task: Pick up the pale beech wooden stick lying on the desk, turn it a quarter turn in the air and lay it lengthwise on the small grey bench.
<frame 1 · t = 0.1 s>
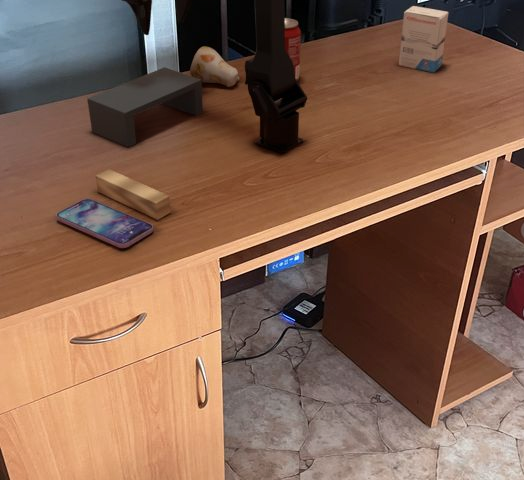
hand: (163, 28, 149), 15 cm above the table, tool pointing down, fingers open, 9 cm apart
soda can: (283, 81, 168), on the table
smartphone: (104, 226, 122), on the table
stick: (133, 202, 128), on the table
ink box: (419, 67, 174), on the table
small grey bench: (148, 122, 151), on the table
cream rounded tapered piece: (217, 83, 166), on the table
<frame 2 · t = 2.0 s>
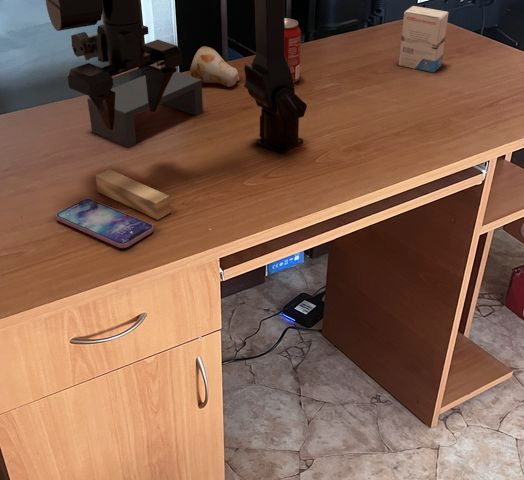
hand: (131, 120, 126), 11 cm above the table, tool pointing down, fingers open, 9 cm apart
nothing on the table moved.
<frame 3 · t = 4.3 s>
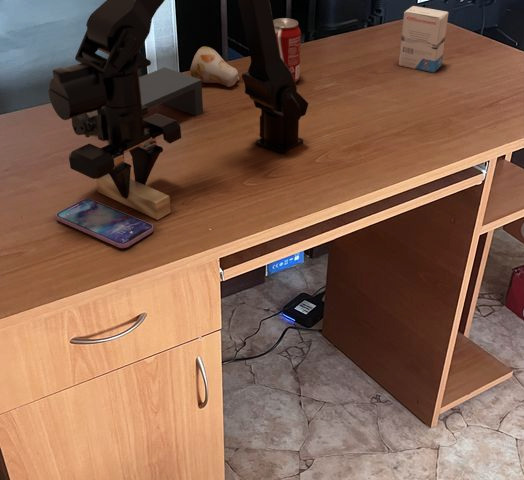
hand: (132, 193, 127), 2 cm above the table, tool pointing down, fingers closed on stick, 3 cm apart
stick: (133, 202, 128), on the table, touching gripper
everything else where it was.
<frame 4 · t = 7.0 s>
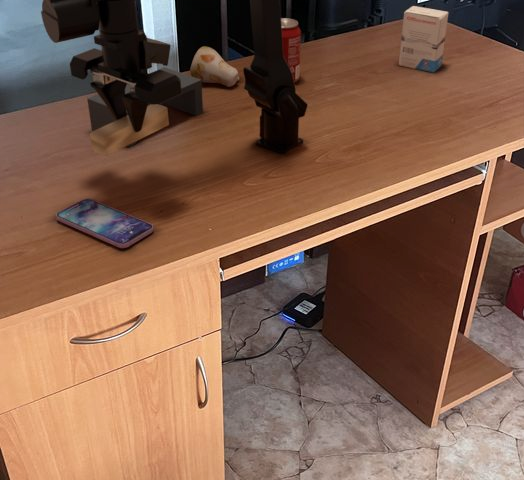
hand: (130, 128, 124), 11 cm above the table, tool pointing down, fingers closed on stick, 3 cm apart
stick: (131, 137, 125), point 9 cm above the table, touching gripper
everything else where it was.
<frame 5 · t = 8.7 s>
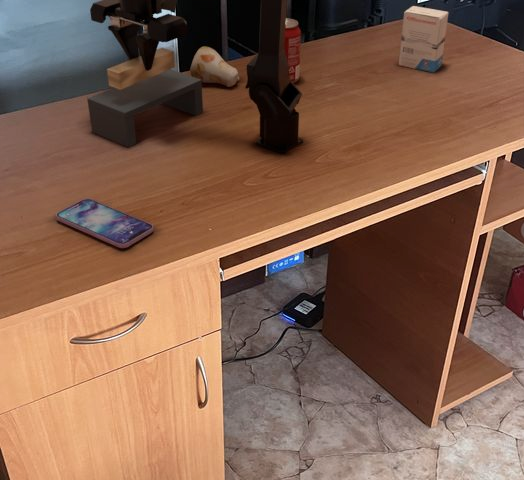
hand: (142, 67, 143), 11 cm above the table, tool pointing down, fingers closed on stick, 3 cm apart
stick: (142, 76, 144), point 10 cm above the table, touching gripper
everything else where it was.
when the fingers open (8 cm above the table, at t = 9.8 s): stick stays where it is, resting on small grey bench.
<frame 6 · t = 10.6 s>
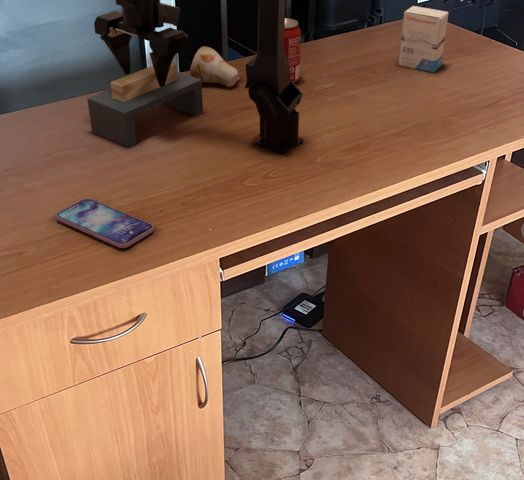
hand: (144, 79, 146), 8 cm above the table, tool pointing down, fingers open, 9 cm apart
stick: (145, 88, 147), point 7 cm above the table, touching small grey bench
everything else where it was.
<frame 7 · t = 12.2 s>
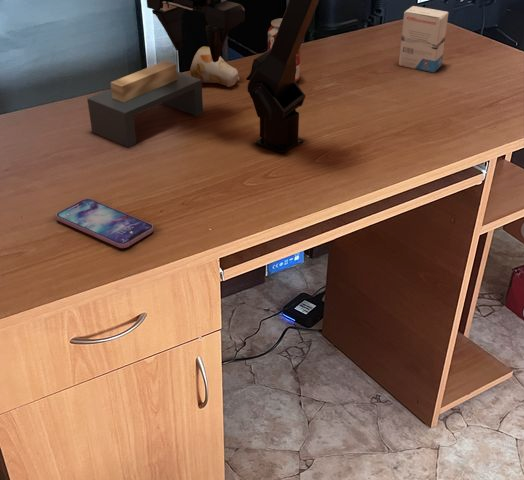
hand: (197, 55, 143), 13 cm above the table, tool pointing down, fingers open, 9 cm apart
nothing on the table moved.
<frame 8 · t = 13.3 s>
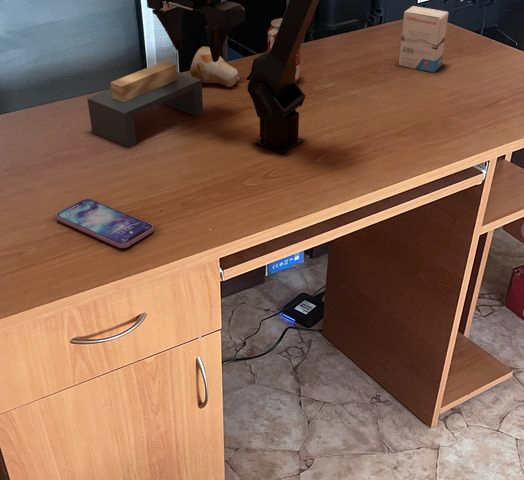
hand: (197, 55, 143), 13 cm above the table, tool pointing down, fingers open, 9 cm apart
nothing on the table moved.
at the end: stick inside the target area on the small grey bench (0.0 cm from its centre), point 6.6 cm above the small grey bench's base; stick tilted 0°; the gripper is holding nothing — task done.
